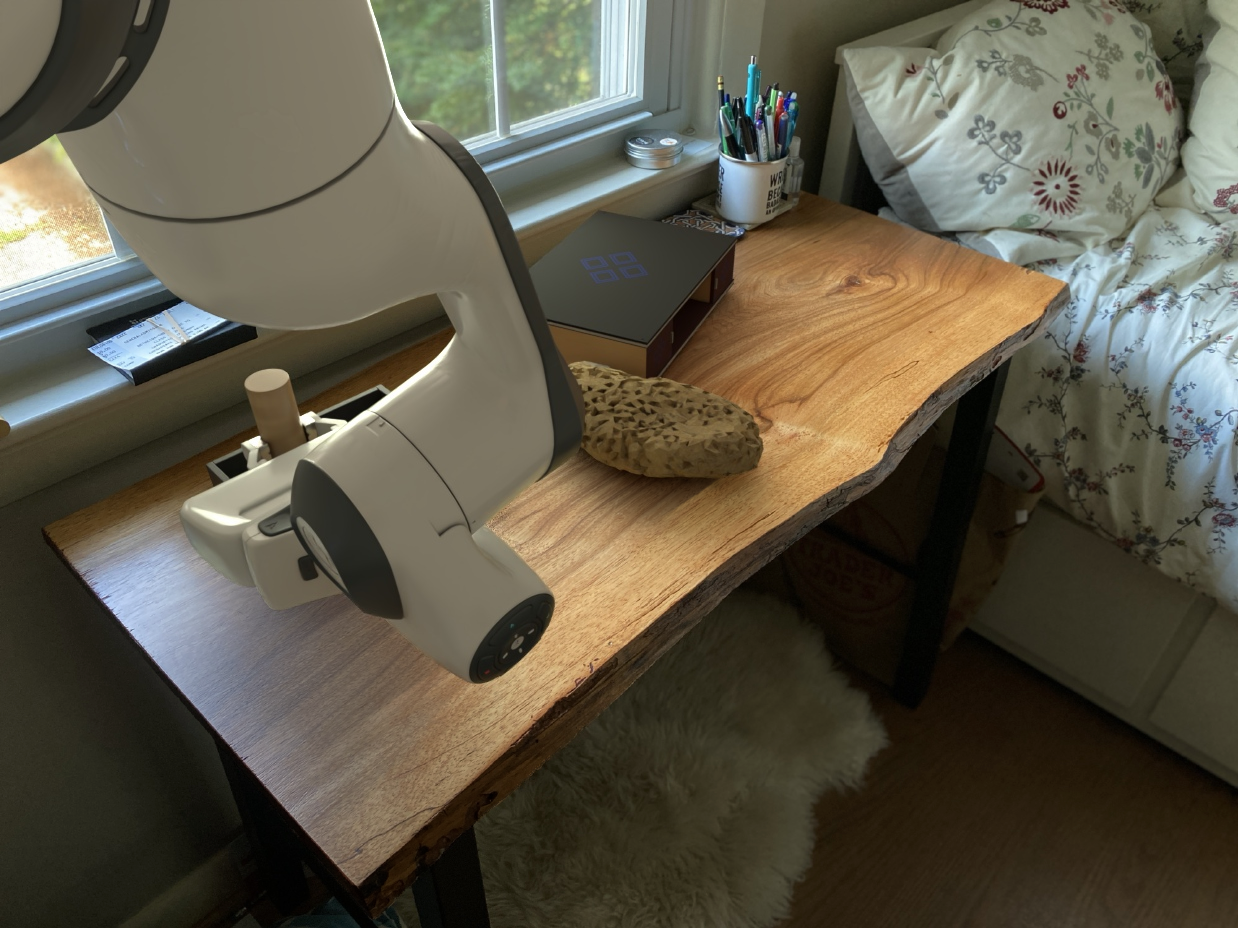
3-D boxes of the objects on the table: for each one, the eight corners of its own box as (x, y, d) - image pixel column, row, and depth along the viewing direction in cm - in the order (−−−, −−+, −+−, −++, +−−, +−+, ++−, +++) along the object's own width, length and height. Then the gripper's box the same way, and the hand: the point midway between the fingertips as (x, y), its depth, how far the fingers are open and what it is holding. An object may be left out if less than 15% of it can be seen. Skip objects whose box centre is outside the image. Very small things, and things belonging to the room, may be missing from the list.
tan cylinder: (289, 531, 74) (251, 407, 66) (259, 501, 77) (219, 380, 69) (345, 502, 77) (313, 380, 69) (314, 474, 79) (280, 354, 72)
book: (733, 290, 108) (738, 236, 104) (646, 402, 90) (647, 343, 86) (599, 261, 114) (598, 209, 109) (492, 361, 96) (486, 304, 92)
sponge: (523, 448, 86) (674, 518, 73) (520, 367, 83) (676, 424, 70) (629, 416, 94) (783, 474, 81) (629, 341, 91) (789, 388, 78)
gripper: (487, 420, 69) (384, 350, 77) (226, 556, 58) (136, 458, 66) (495, 485, 73) (396, 412, 81) (252, 625, 62) (164, 525, 70)
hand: (277, 434), depth 73 cm, fingers closed on tan cylinder, 3 cm apart
